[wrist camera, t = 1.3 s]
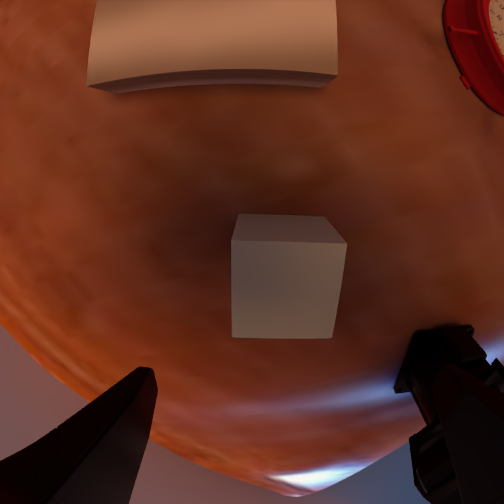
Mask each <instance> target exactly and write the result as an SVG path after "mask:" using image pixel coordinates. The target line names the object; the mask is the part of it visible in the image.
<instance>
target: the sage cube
mask: <svg viewBox="0 0 504 504" xmlns="http://www.w3.org/2000/svg"><path fill="white" fill-rule="evenodd" d="M346 249H347V243H346V242H345V241H344V239H343V238H342V237H341V236H340V235H339V233H338V232H337V231H336V230H335V229H334V227H333V226H332V225H331V224H330V223H329V221H328V220H327V219H326V218H325V217H322V216H300V215H273V214H238V217H237V221H236V225H235V228H234V232H233V236H232V239H231V301H232V337H238V338H277V339H314V338H332V335H333V330H334V324H335V319H336V314H337V308H338V302H339V296H340V290H341V284H342V277H343V271H344V264H345V257H346Z"/></svg>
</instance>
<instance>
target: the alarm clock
mask: <svg viewBox="0 0 504 504" xmlns="http://www.w3.org/2000/svg"><path fill="white" fill-rule="evenodd" d="M444 26H445V31H446V35H447V39H448V43H449V45H450V48H451V50H452V53H453V55H454V58H455V60H456V62H457V64H458V66H459V68H460V70H461V72H462V73H463V76H462V77H459V78H460V79H461V81H462V82H463V84H464V86H465V87H466V89H469V88H470V87H472V88H473V90H474V91H475V92H476V93H477V95H478V96H479V97H480V98H481V99H482V100H483V101H484V102H485V103H486V104H487V105H488V106H489V107H490V108H492V109H493V110H495V111H496V112H498V113H499V114H501V115H503V116H504V0H446V2H445V6H444Z"/></svg>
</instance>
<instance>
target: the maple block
mask: <svg viewBox="0 0 504 504" xmlns="http://www.w3.org/2000/svg"><path fill="white" fill-rule="evenodd" d="M337 76H338V44H337V17H336V0H97V4H96V10H95V15H94V21H93V28H92V34H91V42H90V50H89V59H88V70H87V83H86V86H88V87H92V88H96V89H100V90H104V91H108V92H112V93H115V94H118V93H124V92H131V91H138V90H146V89H154V88H164V87H175V86H188V85H206V84H272V85H290V86H304V87H315V88H323V87H324V86H325V85H327V84H328V83H329V82H330V81H332V80H333V79H334V78H335V77H337Z"/></svg>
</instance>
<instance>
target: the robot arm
mask: <svg viewBox="0 0 504 504" xmlns="http://www.w3.org/2000/svg"><path fill="white" fill-rule="evenodd" d="M473 334H474V328H473V327H472V326H471V325H469V326H458V327H450V328H441V329H434V330H424V331H418V332H416V333H415V334H414V336H413V338H412V341H411V344H410V346H409V349H408V352H407V355H406V357H405V360H404V363H403V365H402V368H401V370H400V373H399V375H398V378H397V380H396V383H395V385H394V387H393V389H394V391H395V393H405V392H411V394H412V396H413V398H414V400H415V402H416V404H417V406H418V408H419V410H420V412H421V414H422V416H423V418H424V421H425V423H426V425H427V426H426V427H424V428H423V429H422V430H420V431H419V432H418V433H417V434H414V435H412V436H411V437H410V438H409V443H410V452H411V460H412V467H413V476H414V484H415V486H416V487H417V489H418V491H419V492H420V493H421V495H422V496H423V497H424V498H425V499H426V500H427V501H429V502H430V503H431V504H504V366H503V365H502V364H501V363H500V361H499V360H498V359H497V358H496V359H495V360H494V361H493V362H492V363H491V364H492V365H490V364H489V363H488V362H487V360H486V357H487V355H486V353H485V351H484V350H483V349H482V348H481V347H480V345H479V344H478V343H477V342H476V341H475V340H474V338H473V337H472V336H473ZM419 337H420V338H419ZM157 393H158V388H157V383H156V379H155V374H154V371H153V369H152V368H148V367H138V368H136V369H135V370H134V371H132V372H131V373H130V374H128V375H127V376H126V377H124V378H123V379H122V380H120V381H119V382H118V383H116V384H115V385H114V386H112V387H111V388H109V389H108V390H107V391H105V392H104V393H103V394H101V395H100V396H99V397H97V398H96V399H95V400H93V401H92V402H91V403H89V404H88V405H87V406H85V407H84V408H82V409H81V410H80V411H78V412H77V413H76V414H74V415H73V416H71V417H70V418H69V419H67V420H66V421H64V422H63V423H62V424H60V425H59V426H58V427H57V428H55V429H53V430H52V431H50V432H49V433H48V434H46V435H45V436H43V437H42V438H40V439H39V440H37V441H36V442H34V443H32V444H31V445H29V446H27V447H26V448H24V449H22V450H20V451H18V452H16V453H15V454H13V455H11V456H9V457H7V458H5V459H3V460H1V461H0V504H129V501H130V498H131V494H132V491H133V487H134V484H135V480H136V478H137V474H138V471H139V468H140V464H141V461H142V458H143V455H144V452H145V449H146V445H147V442H148V439H149V435H150V430H151V425H152V419H153V414H154V409H155V404H156V399H157Z"/></svg>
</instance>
